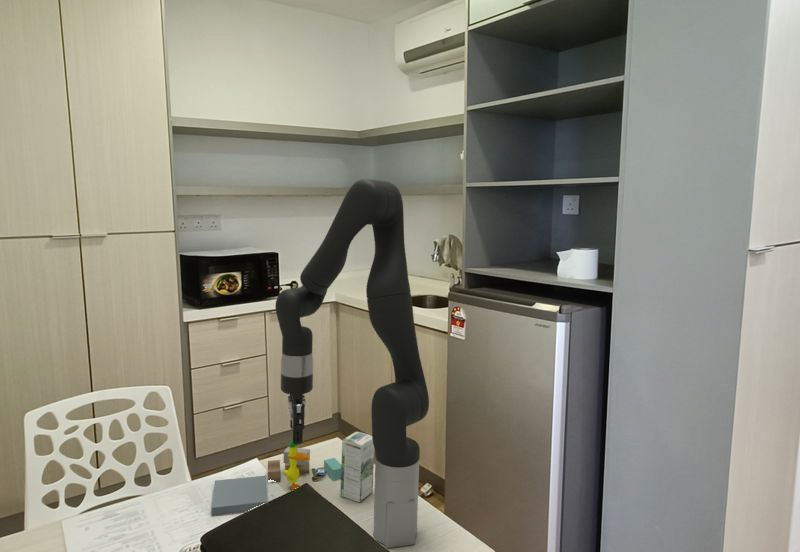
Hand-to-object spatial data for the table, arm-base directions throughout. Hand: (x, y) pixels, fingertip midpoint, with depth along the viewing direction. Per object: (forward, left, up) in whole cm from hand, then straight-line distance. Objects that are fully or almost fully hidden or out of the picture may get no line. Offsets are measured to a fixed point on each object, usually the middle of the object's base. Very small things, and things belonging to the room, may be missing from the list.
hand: (296, 435), depth 130 cm
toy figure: (0, 0, -14) cm, 14 cm away
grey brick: (+8, -1, -11) cm, 13 cm away
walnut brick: (+7, +5, -14) cm, 16 cm away
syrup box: (-6, -14, -14) cm, 21 cm away
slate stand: (-2, +13, -14) cm, 19 cm away
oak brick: (+8, -1, -14) cm, 16 cm away
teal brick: (+5, -10, -14) cm, 18 cm away
